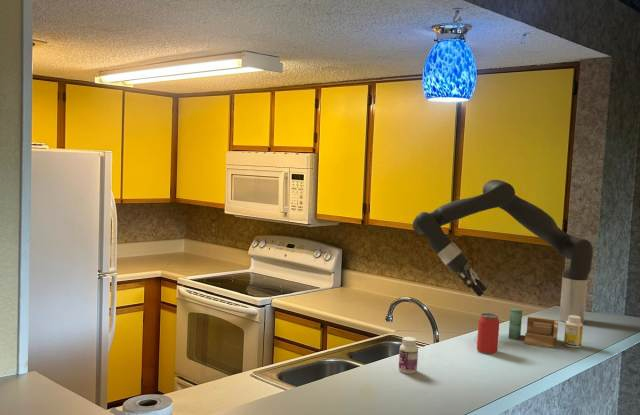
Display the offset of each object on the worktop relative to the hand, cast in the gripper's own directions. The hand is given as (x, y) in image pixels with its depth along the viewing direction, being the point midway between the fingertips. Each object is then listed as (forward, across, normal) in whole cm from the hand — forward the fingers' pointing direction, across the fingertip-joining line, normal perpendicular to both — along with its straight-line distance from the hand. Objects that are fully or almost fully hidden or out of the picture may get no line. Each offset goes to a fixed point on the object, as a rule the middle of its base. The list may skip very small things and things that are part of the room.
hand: (483, 292), depth 226 cm
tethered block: (+22, 0, -1) cm, 22 cm away
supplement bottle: (+32, 0, -11) cm, 34 cm away
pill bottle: (+1, -52, +21) cm, 56 cm away
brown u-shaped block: (+25, 0, -4) cm, 25 cm away
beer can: (+14, -21, +7) cm, 26 cm away
